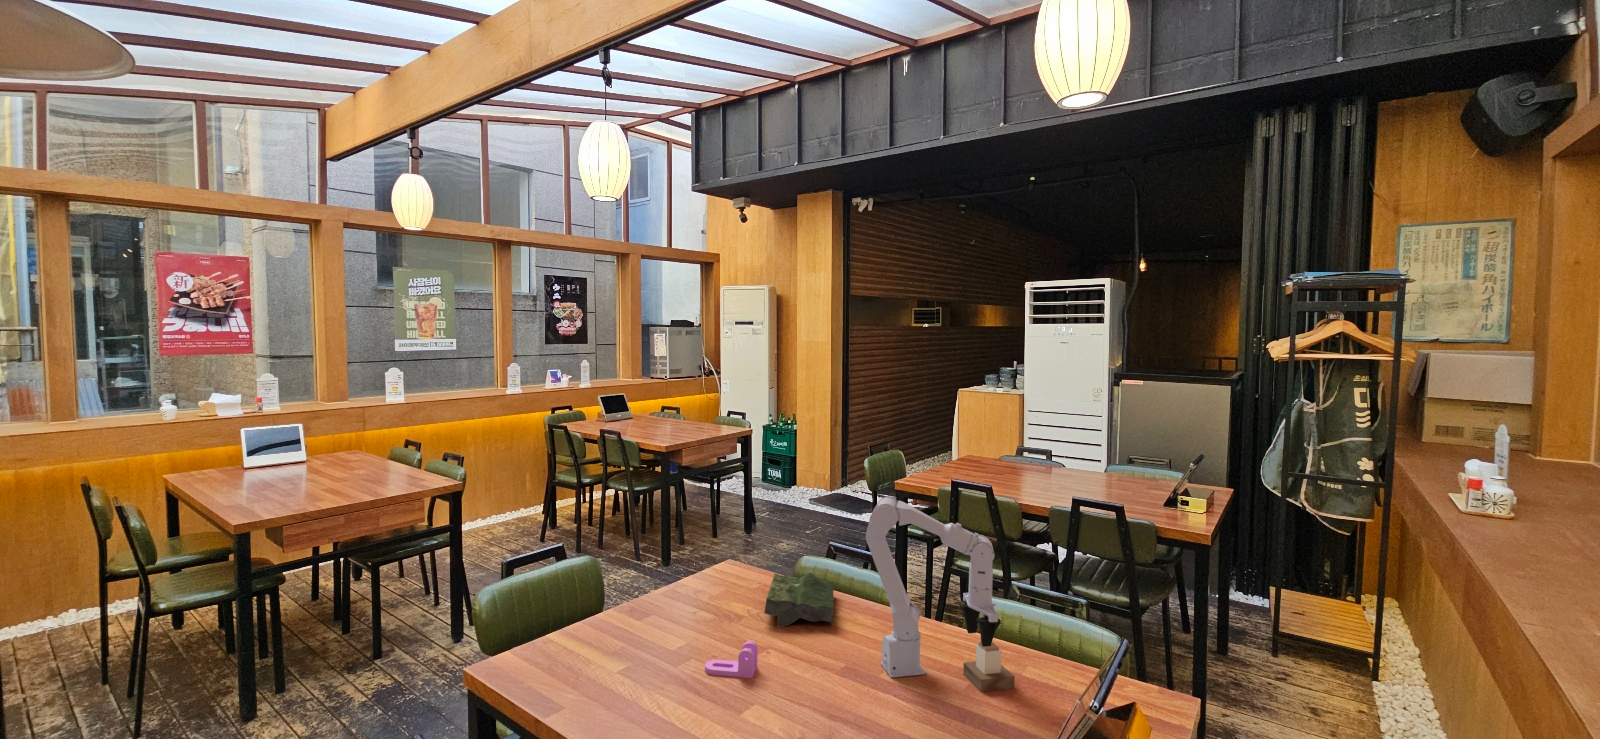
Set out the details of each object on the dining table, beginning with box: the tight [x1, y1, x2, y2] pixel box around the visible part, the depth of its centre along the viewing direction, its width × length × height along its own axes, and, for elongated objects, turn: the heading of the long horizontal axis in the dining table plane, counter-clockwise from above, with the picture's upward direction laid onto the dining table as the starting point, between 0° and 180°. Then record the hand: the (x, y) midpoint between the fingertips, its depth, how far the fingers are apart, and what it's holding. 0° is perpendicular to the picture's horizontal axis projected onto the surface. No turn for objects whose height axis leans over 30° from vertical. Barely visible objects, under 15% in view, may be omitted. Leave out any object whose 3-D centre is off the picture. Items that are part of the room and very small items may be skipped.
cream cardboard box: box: [975, 641, 1002, 674], centre depth 164 cm, size 4×4×6 cm
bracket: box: [704, 640, 759, 679], centre depth 167 cm, size 13×6×7 cm, turn 82°
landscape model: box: [764, 572, 835, 627], centre depth 208 cm, size 26×20×10 cm
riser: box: [962, 660, 1016, 693], centre depth 164 cm, size 9×9×3 cm
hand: (978, 639), depth 165 cm, fingers open, 7 cm apart
